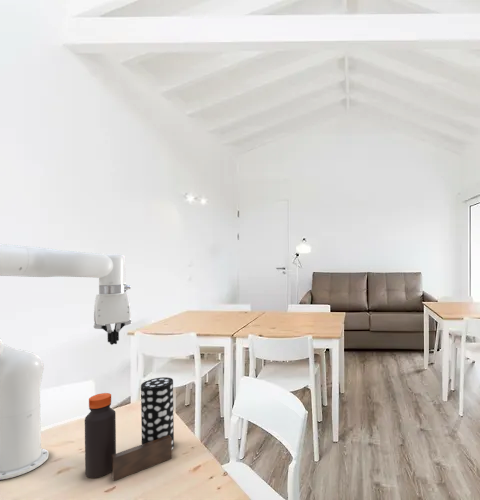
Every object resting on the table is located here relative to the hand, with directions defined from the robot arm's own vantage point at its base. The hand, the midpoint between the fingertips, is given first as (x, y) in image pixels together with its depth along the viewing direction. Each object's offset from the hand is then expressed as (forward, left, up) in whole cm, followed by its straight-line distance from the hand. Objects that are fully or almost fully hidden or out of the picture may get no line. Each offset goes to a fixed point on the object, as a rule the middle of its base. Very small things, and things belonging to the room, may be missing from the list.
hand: (113, 343), depth 121 cm
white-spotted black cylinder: (+6, -29, -27) cm, 40 cm away
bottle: (-8, -28, -27) cm, 40 cm away
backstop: (0, -35, -27) cm, 44 cm away
